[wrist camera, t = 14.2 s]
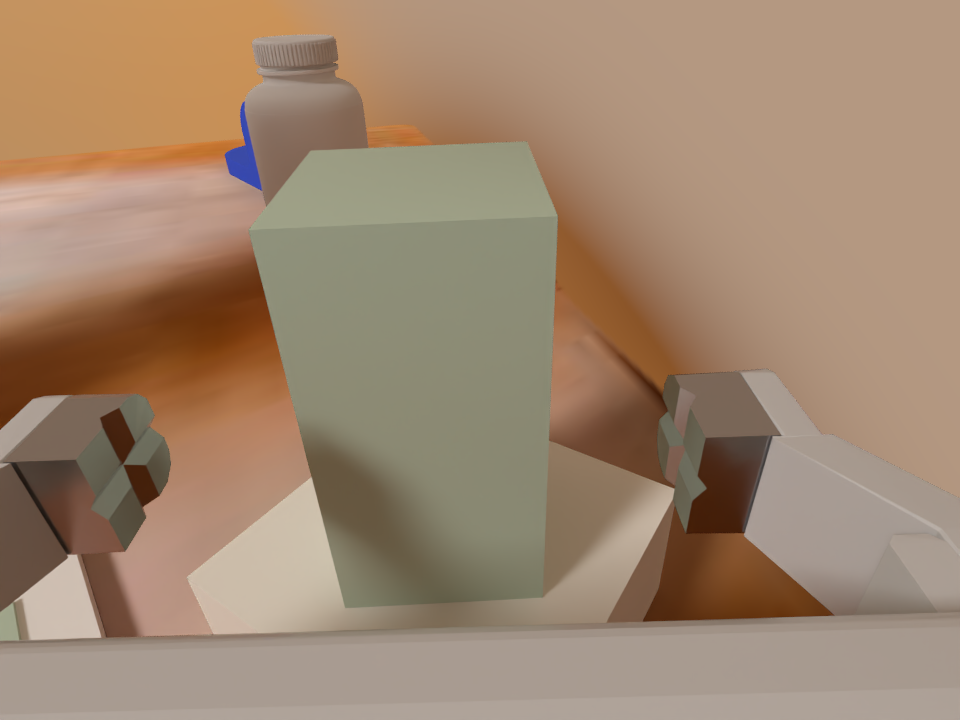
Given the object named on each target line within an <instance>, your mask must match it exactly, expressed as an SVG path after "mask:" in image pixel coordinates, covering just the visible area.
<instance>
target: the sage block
mask: <svg viewBox="0 0 960 720" xmlns="http://www.w3.org/2000/svg"><path fill="white" fill-rule="evenodd" d="M557 227H558V215H557V213H556V211H555V208H554V206H553V203H552V201H551V198H550V196H549V194H548V191H547V189H546V186H545V184H544V182H543V179H542V177H541V174H540V172H539V170H538V167H537V165H536V163H535V160H534V158H533V155H532V153H531V150H530V148H529V146H528V143H527V141H525V142H502V143H480V144H455V145H431V146H408V147H384V148H361V149H337V150H314V151H310V152H309V153H308V155H307V156H306V157H305V158H304V160H303V161H302V162H301V163H300V165H299V166H298V167H297V169H296V170H295V171H294V172H293V174H292V175H291V176H290V178H289V179H288V180H287V181H286V183H285V184H284V185H283V186H282V188H281V189H280V190H279V192H278V193H277V194H276V195H275V197H274V198H273V199H272V200H271V202H270V203H269V204H268V206H267V207H266V208H265V209H264V211H263V212H262V213H261V214H260V216H259V217H258V218H257V220H256V221H255V222H254V223H253V225H252V226H251V227H250V228H249V234H250V238H251V242H252V246H253V250H254V254H255V258H256V261H257V265H258V269H259V273H260V277H261V281H262V285H263V289H264V293H265V297H266V301H267V305H268V308H269V312H270V316H271V320H272V324H273V328H274V332H275V336H276V340H277V344H278V348H279V351H280V355H281V359H282V363H283V367H284V371H285V375H286V379H287V383H288V387H289V391H290V394H291V398H292V402H293V406H294V410H295V414H296V418H297V422H298V426H299V430H300V434H301V437H302V441H303V445H304V449H305V453H306V457H307V461H308V465H309V469H310V473H311V477H312V480H313V484H314V488H315V492H316V496H317V500H318V504H319V508H320V512H321V516H322V520H323V523H324V527H325V531H326V535H327V539H328V543H329V547H330V551H331V555H332V559H333V563H334V567H335V570H336V574H337V578H338V582H339V586H340V590H341V594H342V598H343V602H344V606H345V608H356V607H375V606H394V605H414V604H433V603H452V602H471V601H491V600H509V599H527V598H543V578H544V553H545V528H546V503H547V478H548V453H549V428H550V403H551V378H552V353H553V328H554V303H555V278H556V252H557V251H556V250H557Z"/></svg>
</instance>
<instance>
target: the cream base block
mask: <svg viewBox="0 0 960 720" xmlns="http://www.w3.org/2000/svg"><path fill="white" fill-rule="evenodd" d="M673 495H674V488H671V487H668V486H666V485H663V484H661V483H658V482H655V481H653V480H650V479H648V478H645V477H643V476H640V475H637V474H635V473H632V472H630V471H627V470H624V469H622V468H619V467H617V466H614V465H611V464H609V463H606V462H604V461H601V460H598V459H596V458H593V457H591V456H588V455H586V454H583V453H580V452H578V451H575V450H573V449H570V448H567V447H565V446H562V445H560V444H557V443H554V442H552V441H549V453H548V478H547V503H546V528H545V553H544V578H543V598H527V599H509V600H491V601H471V602H452V603H433V604H414V605H394V606H375V607H356V608H345V606H344V602H343V598H342V594H341V590H340V586H339V582H338V578H337V574H336V570H335V567H334V563H333V559H332V555H331V551H330V547H329V543H328V539H327V535H326V531H325V527H324V523H323V520H322V516H321V512H320V508H319V504H318V500H317V496H316V492H315V488H314V484H313V480H312V477H311V478H310V479H309V480H307V481H306V482H305V483H304V484H302V485H301V486H300V487H299V488H297V489H296V490H295V491H294V492H292V493H291V494H290V495H289V496H287V497H286V498H285V499H284V500H282V501H281V502H280V503H279V504H277V505H276V506H275V507H274V508H272V509H271V510H270V511H269V512H267V513H266V514H265V515H264V516H262V517H261V518H260V519H259V520H257V521H256V522H255V523H254V524H252V525H251V526H250V527H249V528H247V529H246V530H245V531H244V532H242V533H241V534H240V535H239V536H237V537H236V538H235V539H234V540H232V541H231V542H230V543H229V544H227V545H226V546H225V547H224V548H222V549H221V550H220V551H219V552H217V553H216V554H215V555H214V556H212V557H211V558H210V559H209V560H207V561H206V562H205V563H204V564H202V565H201V566H200V567H199V568H198V569H196V570H195V571H194V572H193V573H191V574H190V575H189V576H188V577H187V579H188V582H189V584H190V586H191V588H192V590H193V592H194V594H195V596H196V598H197V601H198V603H199V605H200V607H201V609H202V611H203V613H204V615H205V617H206V620H207V622H208V624H209V626H210V628H211V630H212V632H213V634H242V633H275V632H309V631H342V630H375V629H408V628H442V627H477V626H511V625H546V624H581V623H616V622H643V620H644V617H645V615H646V613H647V611H648V609H649V607H650V605H651V603H652V601H653V599H654V597H655V595H656V593H657V591H658V589H659V584H660V579H661V574H662V569H663V563H664V558H665V553H666V548H667V543H668V537H669V532H670V527H671V522H672V517H673V512H674V506H675V504H674V502H673Z"/></svg>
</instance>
